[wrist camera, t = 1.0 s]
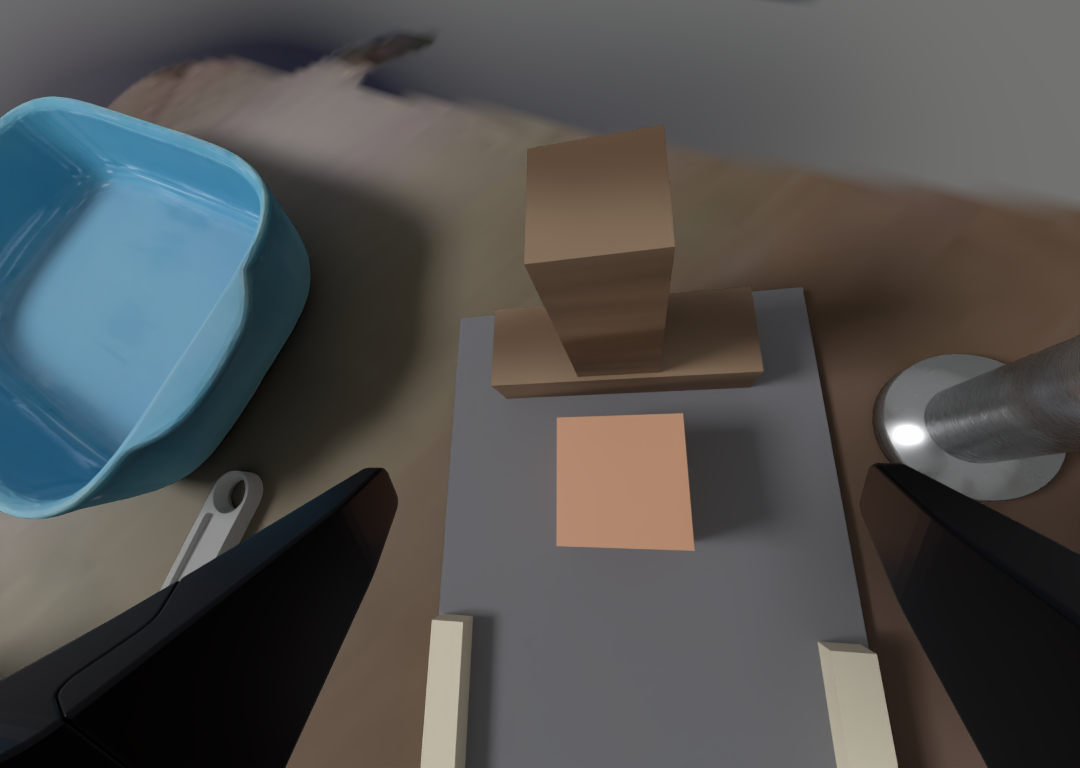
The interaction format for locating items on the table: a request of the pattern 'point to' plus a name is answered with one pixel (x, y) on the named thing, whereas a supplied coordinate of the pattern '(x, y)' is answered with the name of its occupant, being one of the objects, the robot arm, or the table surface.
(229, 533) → the adjustable wrench
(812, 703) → the mat
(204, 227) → the casserole dish
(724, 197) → the table surface
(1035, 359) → the grey metal stick
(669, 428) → the terracotta block
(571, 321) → the wooden block on base
